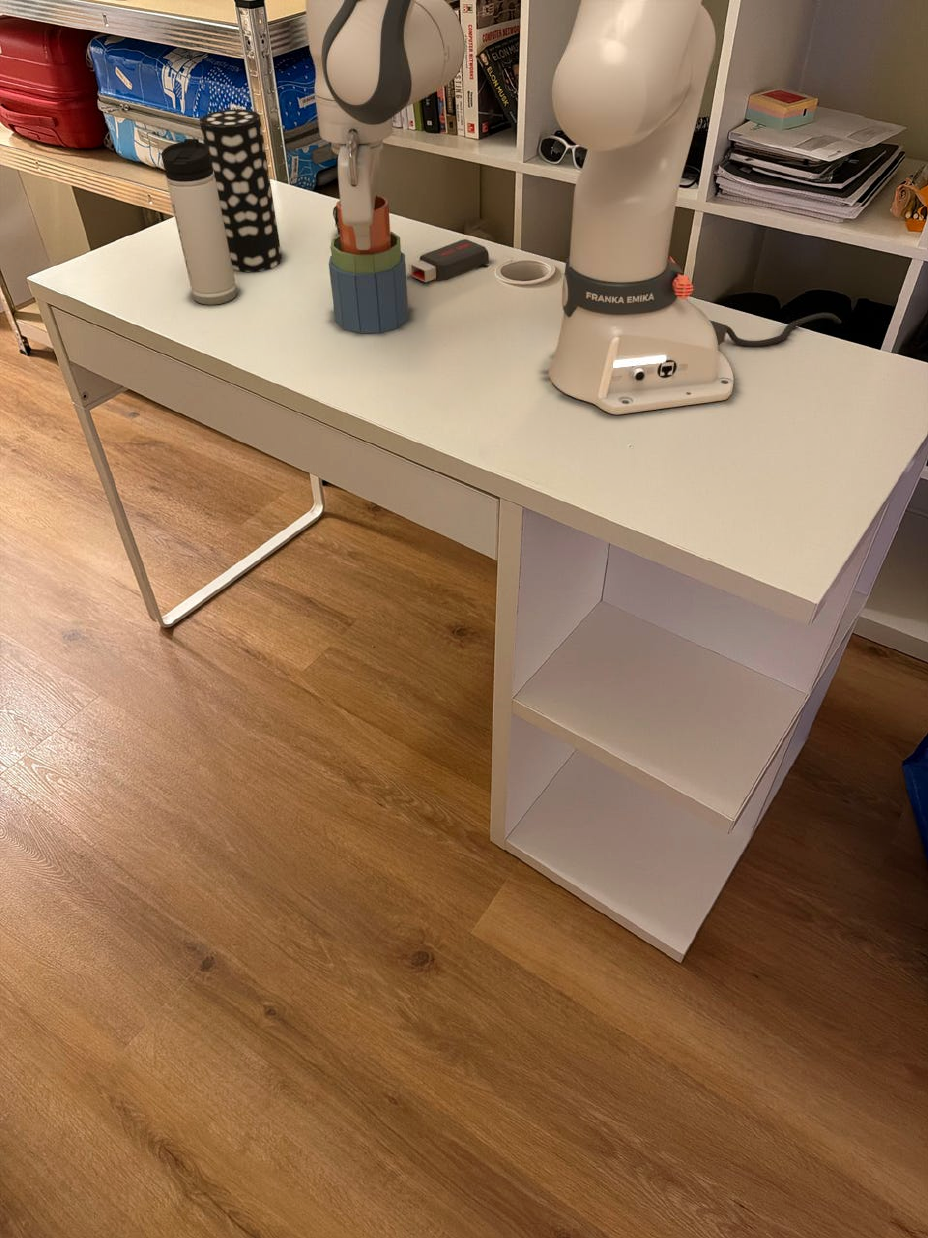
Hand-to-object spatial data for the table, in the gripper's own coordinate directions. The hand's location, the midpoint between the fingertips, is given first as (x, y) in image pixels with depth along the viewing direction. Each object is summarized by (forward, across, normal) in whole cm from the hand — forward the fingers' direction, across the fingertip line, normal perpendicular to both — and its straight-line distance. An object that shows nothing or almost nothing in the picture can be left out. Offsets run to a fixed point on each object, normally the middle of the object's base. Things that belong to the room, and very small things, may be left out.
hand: (365, 235), depth 118 cm
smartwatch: (+11, +29, +6) cm, 32 cm away
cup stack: (+11, 0, 0) cm, 11 cm away
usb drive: (+11, +15, -11) cm, 22 cm away
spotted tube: (+11, +20, +19) cm, 30 cm away
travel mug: (+11, +8, +23) cm, 27 cm away
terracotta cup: (+5, 0, 0) cm, 5 cm away
